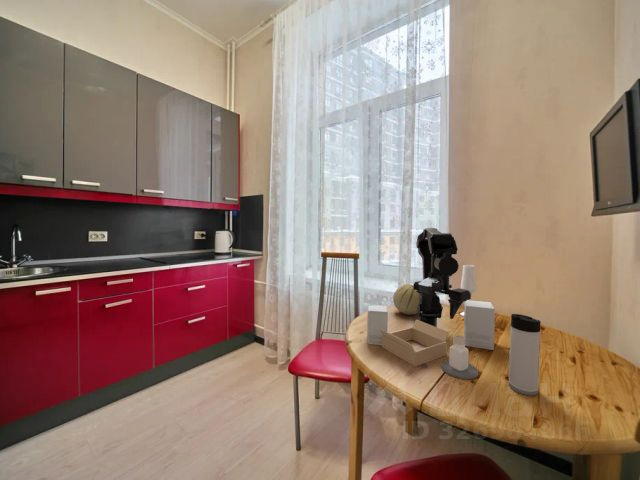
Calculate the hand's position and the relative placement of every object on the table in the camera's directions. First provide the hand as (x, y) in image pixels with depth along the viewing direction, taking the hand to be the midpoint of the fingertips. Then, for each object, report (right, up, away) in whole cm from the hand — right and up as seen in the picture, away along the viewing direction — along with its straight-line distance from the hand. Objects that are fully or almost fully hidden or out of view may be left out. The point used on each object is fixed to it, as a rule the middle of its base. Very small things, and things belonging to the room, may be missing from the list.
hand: (439, 314), depth 92 cm
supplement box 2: (+17, -13, +7) cm, 23 cm away
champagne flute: (+31, -11, +38) cm, 50 cm away
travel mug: (+13, -14, -21) cm, 28 cm away
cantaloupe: (+3, -11, +40) cm, 41 cm away
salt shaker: (+1, -13, -11) cm, 17 cm away
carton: (-9, -13, +1) cm, 16 cm away
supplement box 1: (-20, -13, +9) cm, 25 cm away
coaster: (+1, -14, -11) cm, 18 cm away
